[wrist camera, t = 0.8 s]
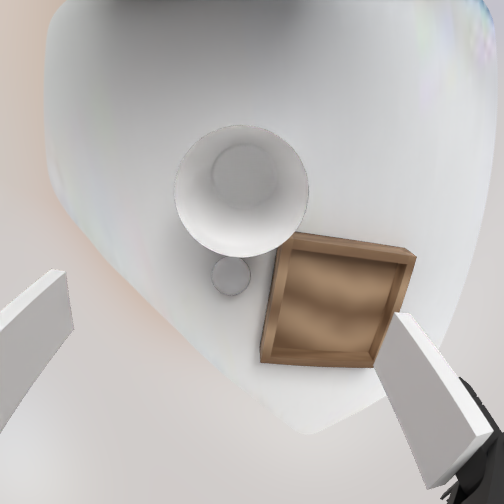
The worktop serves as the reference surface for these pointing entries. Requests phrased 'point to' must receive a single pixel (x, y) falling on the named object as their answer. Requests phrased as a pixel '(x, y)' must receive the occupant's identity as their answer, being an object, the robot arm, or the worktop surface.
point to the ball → (231, 275)
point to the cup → (241, 191)
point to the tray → (332, 301)
